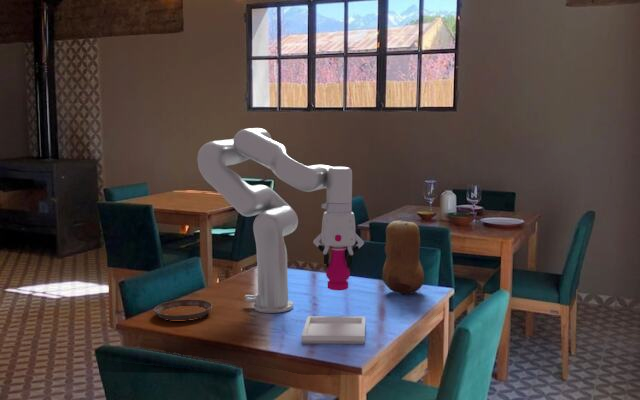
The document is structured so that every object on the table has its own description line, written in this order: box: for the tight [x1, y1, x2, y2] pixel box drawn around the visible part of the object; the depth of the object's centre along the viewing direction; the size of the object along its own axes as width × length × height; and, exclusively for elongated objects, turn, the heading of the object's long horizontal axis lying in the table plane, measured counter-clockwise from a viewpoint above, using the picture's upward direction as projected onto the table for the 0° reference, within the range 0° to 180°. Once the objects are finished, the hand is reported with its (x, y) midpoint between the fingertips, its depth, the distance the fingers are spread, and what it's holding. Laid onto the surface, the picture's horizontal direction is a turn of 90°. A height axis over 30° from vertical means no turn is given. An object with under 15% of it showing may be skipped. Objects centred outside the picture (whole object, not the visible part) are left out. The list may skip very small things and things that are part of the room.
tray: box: [301, 315, 366, 345], centre depth 188 cm, size 17×17×2 cm
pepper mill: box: [325, 235, 351, 291], centre depth 202 cm, size 7×7×20 cm
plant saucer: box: [153, 298, 213, 320], centre depth 208 cm, size 18×18×3 cm
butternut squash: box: [381, 219, 425, 296], centre depth 226 cm, size 14×13×25 cm
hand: (338, 266), depth 202 cm, fingers closed on pepper mill, 5 cm apart
